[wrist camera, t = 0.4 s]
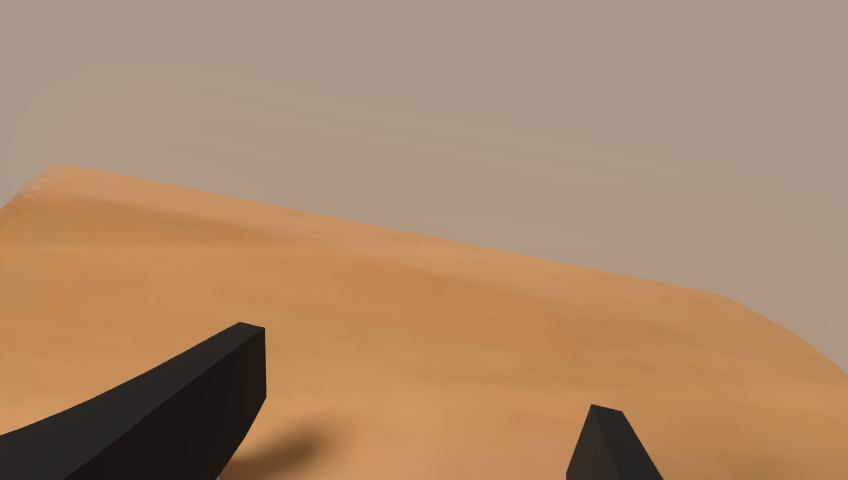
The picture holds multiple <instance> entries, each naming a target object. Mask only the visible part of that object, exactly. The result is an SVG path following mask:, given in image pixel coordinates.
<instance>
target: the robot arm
mask: <svg viewBox="0 0 848 480" xmlns="http://www.w3.org/2000/svg"><path fill="white" fill-rule="evenodd" d="M266 397H267V396H266V354H265V328H264V327H259V326H255V325H251V324H246V323H242V322H239V323H237V324H235V325H233V326H231V327H229V328H227V329H225V330H223V331H221V332H219V333H218V334H216V335H214V336H212V337H210V338H208V339H207V340H205V341H203V342H201V343H199V344H198V345H196V346H194V347H192V348H190V349H189V350H187V351H185V352H183V353H181V354H179V355H177V356H175V357H174V358H172V359H170V360H168V361H166V362H164V363H162V364H161V365H159V366H157V367H155V368H153V369H151V370H149V371H147V372H145V373H143V374H141V375H139V376H137V377H135V378H133V379H131V380H129V381H127V382H125V383H123V384H121V385H119V386H117V387H115V388H113V389H111V390H109V391H106V392H104V393H102V394H100V395H98V396H96V397H94V398H92V399H90V400H87V401H85V402H83V403H81V404H79V405H76V406H74V407H72V408H69V409H67V410H65V411H62V412H60V413H57V414H55V415H53V416H50V417H48V418H45V419H43V420H40V421H38V422H35V423H33V424H30V425H28V426H25V427H23V428H20V429H17V430H15V431H12V432H9V433H6V434H3V435H0V480H216V479H217V477H218V476H219V474H220V473H221V472H222V470H223V469H224V467H225V466H226V464H227V463H228V461H229V460H230V459H231V457H232V456H233V454H234V453H235V451H236V450H237V448H238V447H239V445H240V444H241V443H242V441H243V440H244V438H245V436H246V435H247V433H248V431H249V429H250V427H251V425H252V424H253V422H254V420H255V418H256V416H257V414H258V412H259V410H260V408H261V406H262V405H263V403H264V401H265V399H266ZM566 480H663V478H662V476H661V475H660V473H659V472H658V470H657V468H656V467H655V465H654V463H653V462H652V460H651V458H650V457H649V455H648V454H647V452H646V450H645V449H644V447H643V445H642V444H641V442H640V440H639V439H638V437H637V435H636V434H635V432H634V430H633V428H632V427H631V425H630V423H629V422H628V420H627V419H626V417H625V415H624V414H623V412H622V411H618V410H614V409H610V408H606V407H601V406H597V405H593V404H591V407H590V409H589V412H588V415H587V418H586V420H585V423H584V426H583V429H582V431H581V434H580V437H579V439H578V442H577V445H576V448H575V450H574V453H573V456H572V458H571V461H570V464H569V467H568V469H567V472H566Z"/></svg>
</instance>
